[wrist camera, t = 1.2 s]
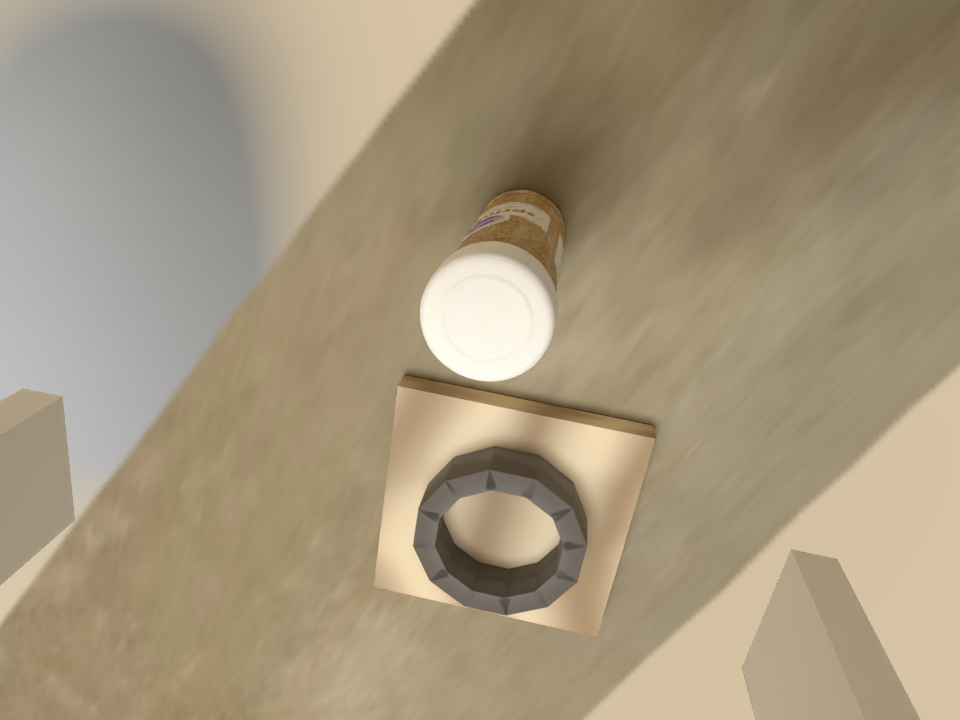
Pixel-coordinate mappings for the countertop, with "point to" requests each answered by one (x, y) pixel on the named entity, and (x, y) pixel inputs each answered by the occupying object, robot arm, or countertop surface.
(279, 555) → the countertop surface
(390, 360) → the countertop surface
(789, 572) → the robot arm
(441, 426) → the mount plate
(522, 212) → the sprinkles bottle
